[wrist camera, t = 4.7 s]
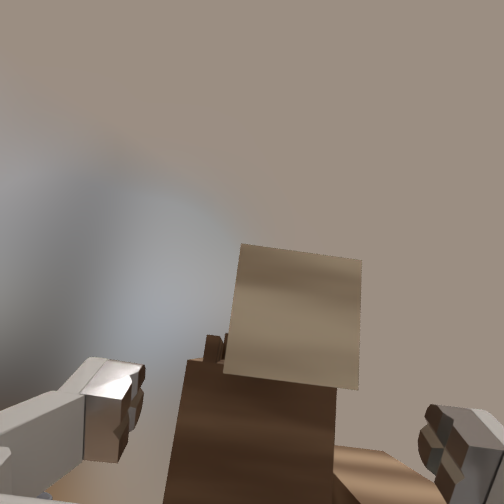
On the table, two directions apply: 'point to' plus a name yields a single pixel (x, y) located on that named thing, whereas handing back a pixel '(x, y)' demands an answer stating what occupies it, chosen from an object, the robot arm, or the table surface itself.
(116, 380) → the robot arm
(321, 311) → the pine blank
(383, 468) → the walnut step
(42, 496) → the supplement bottle
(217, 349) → the brown wooden block
